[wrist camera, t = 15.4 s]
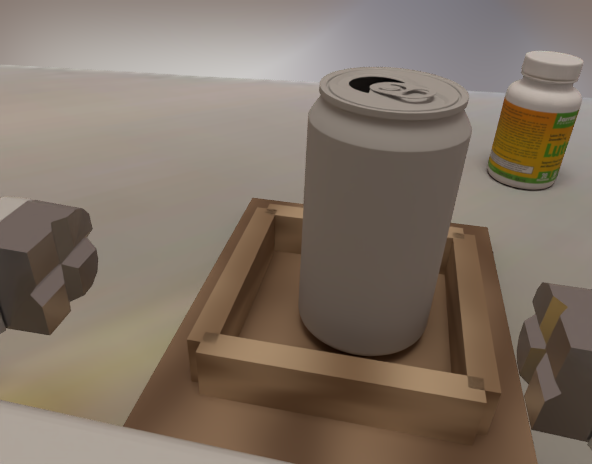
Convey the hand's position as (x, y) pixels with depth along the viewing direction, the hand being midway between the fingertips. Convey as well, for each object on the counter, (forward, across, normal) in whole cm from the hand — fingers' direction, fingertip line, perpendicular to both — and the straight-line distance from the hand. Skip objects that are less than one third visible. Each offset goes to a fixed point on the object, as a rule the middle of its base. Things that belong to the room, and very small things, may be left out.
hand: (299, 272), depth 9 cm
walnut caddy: (+12, -1, +13) cm, 18 cm away
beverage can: (+13, -2, +12) cm, 18 cm away
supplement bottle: (+34, -13, +13) cm, 39 cm away
